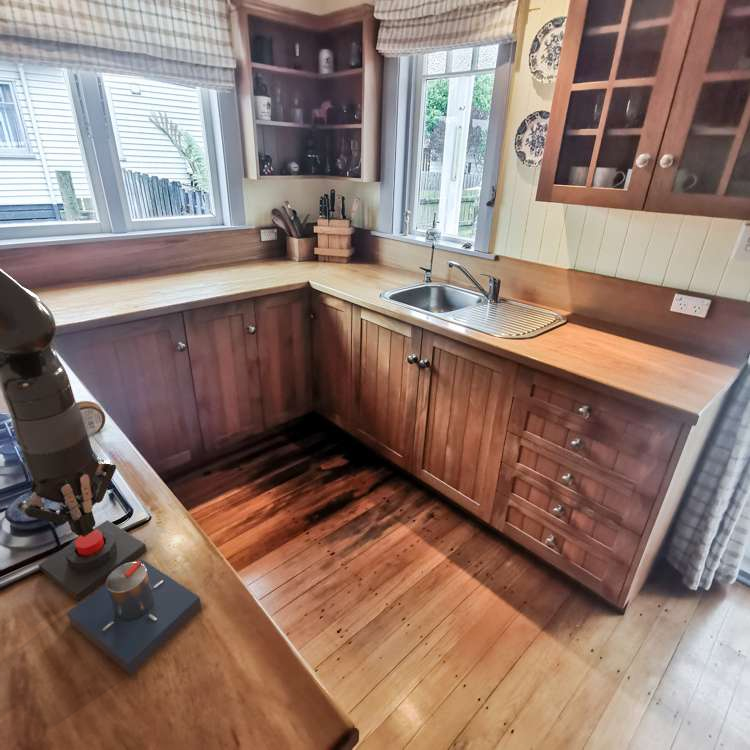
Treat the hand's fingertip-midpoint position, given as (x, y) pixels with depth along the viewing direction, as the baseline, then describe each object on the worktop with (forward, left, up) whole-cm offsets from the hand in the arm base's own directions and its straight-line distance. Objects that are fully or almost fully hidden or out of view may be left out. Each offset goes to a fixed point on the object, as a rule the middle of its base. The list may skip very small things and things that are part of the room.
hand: (85, 531), depth 70 cm
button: (0, 0, -3) cm, 4 cm away
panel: (+14, -2, -7) cm, 16 cm away
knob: (+14, -2, -4) cm, 15 cm away
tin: (-36, +17, -7) cm, 41 cm away
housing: (0, 0, -7) cm, 7 cm away
